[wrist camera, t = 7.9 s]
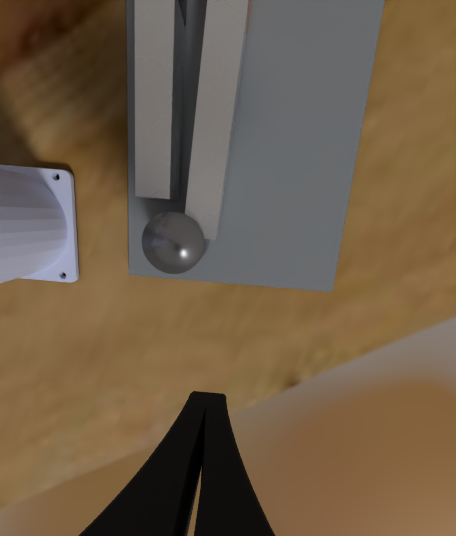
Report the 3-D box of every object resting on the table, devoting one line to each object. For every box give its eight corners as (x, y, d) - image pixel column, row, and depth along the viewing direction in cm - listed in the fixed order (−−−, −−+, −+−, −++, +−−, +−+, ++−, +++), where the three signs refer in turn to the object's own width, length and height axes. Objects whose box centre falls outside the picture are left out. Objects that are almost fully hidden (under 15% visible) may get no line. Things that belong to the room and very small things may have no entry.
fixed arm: (180, 201, 16) (170, 199, 14) (149, 199, 16) (134, 196, 14) (190, -107, 13) (180, -184, 10) (151, -110, 13) (132, -187, 10)
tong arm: (214, 268, 17) (210, 279, 14) (156, 260, 17) (139, 269, 14) (265, -97, 13) (275, -193, 10) (187, -110, 13) (172, -209, 10)
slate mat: (329, 289, 18) (332, 291, 17) (132, 272, 18) (129, 274, 18) (403, -134, 13) (411, -150, 12) (129, -150, 13) (124, -168, 13)
